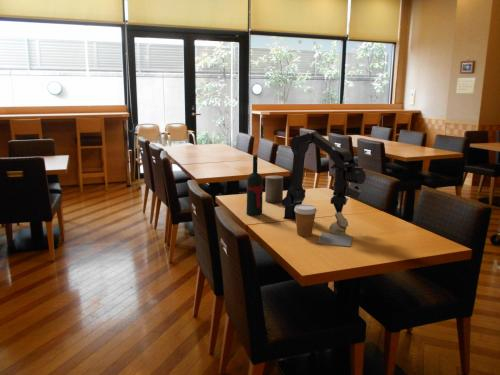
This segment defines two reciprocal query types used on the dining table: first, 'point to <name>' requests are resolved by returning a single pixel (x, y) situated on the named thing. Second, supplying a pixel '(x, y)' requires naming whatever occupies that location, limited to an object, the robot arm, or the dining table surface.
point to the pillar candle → (274, 189)
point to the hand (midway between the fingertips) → (339, 215)
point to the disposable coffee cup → (305, 219)
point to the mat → (335, 239)
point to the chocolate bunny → (339, 224)
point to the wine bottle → (254, 191)
